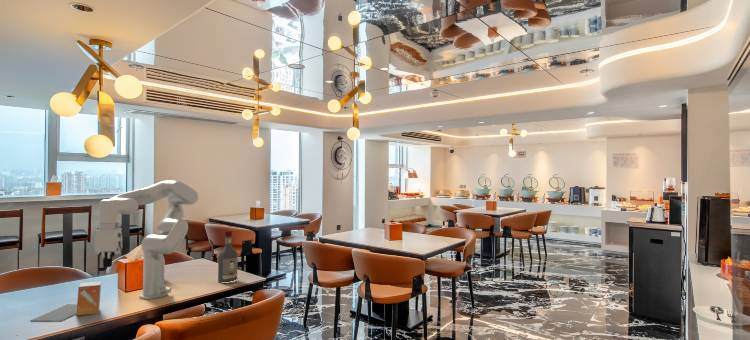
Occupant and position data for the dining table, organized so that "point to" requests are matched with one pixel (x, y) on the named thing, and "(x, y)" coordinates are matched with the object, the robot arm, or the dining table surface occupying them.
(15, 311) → the dining table surface
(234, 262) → the liquor
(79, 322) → the dining table surface
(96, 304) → the small box
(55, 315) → the mat
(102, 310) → the dining table surface
